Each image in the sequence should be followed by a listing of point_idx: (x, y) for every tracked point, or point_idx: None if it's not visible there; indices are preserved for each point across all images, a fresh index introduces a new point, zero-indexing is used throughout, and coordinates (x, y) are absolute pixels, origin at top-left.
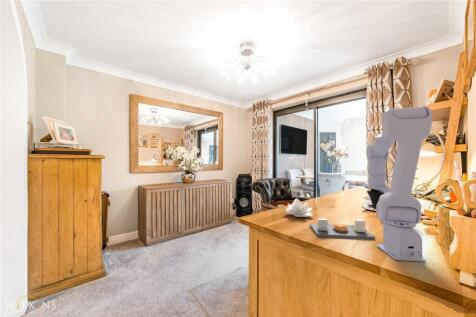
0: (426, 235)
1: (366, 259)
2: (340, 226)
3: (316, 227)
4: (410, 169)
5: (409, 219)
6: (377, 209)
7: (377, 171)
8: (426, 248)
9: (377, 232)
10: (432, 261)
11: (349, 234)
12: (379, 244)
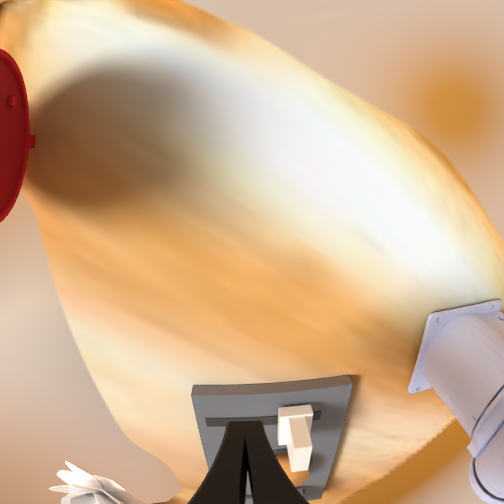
0: (247, 60)
1: (449, 417)
2: (296, 480)
3: None
4: None
5: None
6: (480, 485)
7: None
8: (426, 207)
9: (241, 325)
10: (491, 269)
11: (325, 449)
12: (411, 386)
